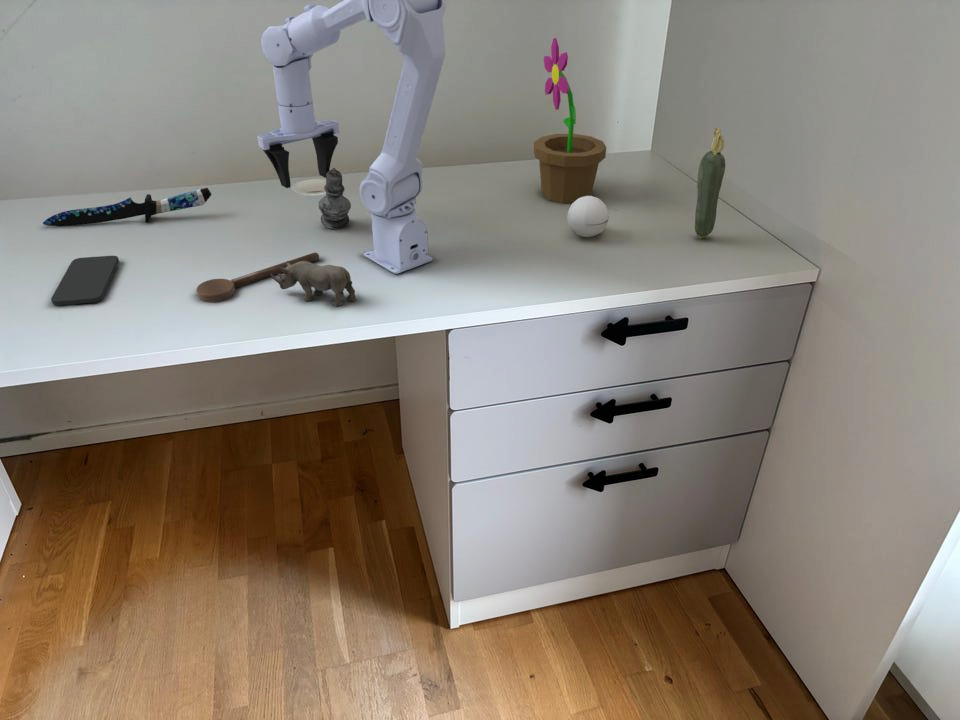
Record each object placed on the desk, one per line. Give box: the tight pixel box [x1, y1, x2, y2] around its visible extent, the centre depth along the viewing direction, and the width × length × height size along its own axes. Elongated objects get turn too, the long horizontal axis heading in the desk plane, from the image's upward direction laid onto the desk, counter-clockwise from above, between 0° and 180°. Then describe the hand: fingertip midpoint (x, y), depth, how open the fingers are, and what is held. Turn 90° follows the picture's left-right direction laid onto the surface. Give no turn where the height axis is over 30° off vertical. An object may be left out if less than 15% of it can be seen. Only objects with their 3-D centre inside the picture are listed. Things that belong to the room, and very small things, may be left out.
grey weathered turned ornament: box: [318, 167, 352, 230], centre depth 138 cm, size 6×6×12 cm
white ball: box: [567, 195, 617, 238], centre depth 138 cm, size 10×7×7 cm
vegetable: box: [694, 127, 726, 240], centre depth 133 cm, size 4×4×20 cm
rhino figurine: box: [270, 260, 358, 307], centre depth 118 cm, size 4×14×6 cm, turn 74°
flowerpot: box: [533, 37, 607, 204], centre depth 149 cm, size 14×14×30 cm
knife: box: [42, 187, 212, 227], centre depth 143 cm, size 31×3×4 cm, turn 98°
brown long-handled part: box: [196, 252, 320, 303], centre depth 125 cm, size 22×6×1 cm, turn 132°
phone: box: [50, 255, 120, 306], centre depth 123 cm, size 7×1×15 cm
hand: (305, 181), depth 135 cm, fingers open, 7 cm apart
